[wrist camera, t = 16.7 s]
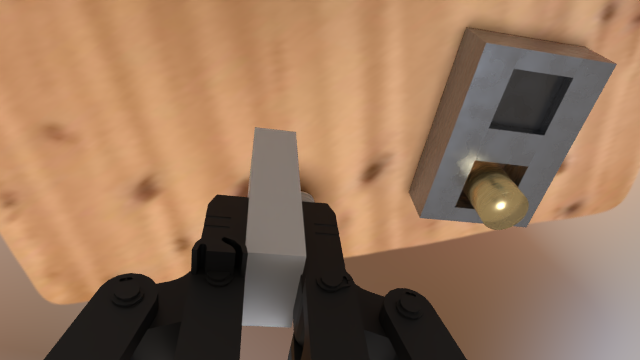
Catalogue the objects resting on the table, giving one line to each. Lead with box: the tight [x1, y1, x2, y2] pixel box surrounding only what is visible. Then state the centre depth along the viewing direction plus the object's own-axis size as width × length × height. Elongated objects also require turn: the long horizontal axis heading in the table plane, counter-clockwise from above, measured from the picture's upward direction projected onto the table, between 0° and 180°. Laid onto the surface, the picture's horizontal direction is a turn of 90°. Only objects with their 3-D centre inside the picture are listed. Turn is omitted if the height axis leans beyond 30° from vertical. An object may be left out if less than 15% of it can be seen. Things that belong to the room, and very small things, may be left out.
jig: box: [409, 27, 617, 227], centre depth 43 cm, size 18×12×4 cm, turn 170°
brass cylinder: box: [462, 160, 529, 230], centre depth 44 cm, size 4×4×8 cm
